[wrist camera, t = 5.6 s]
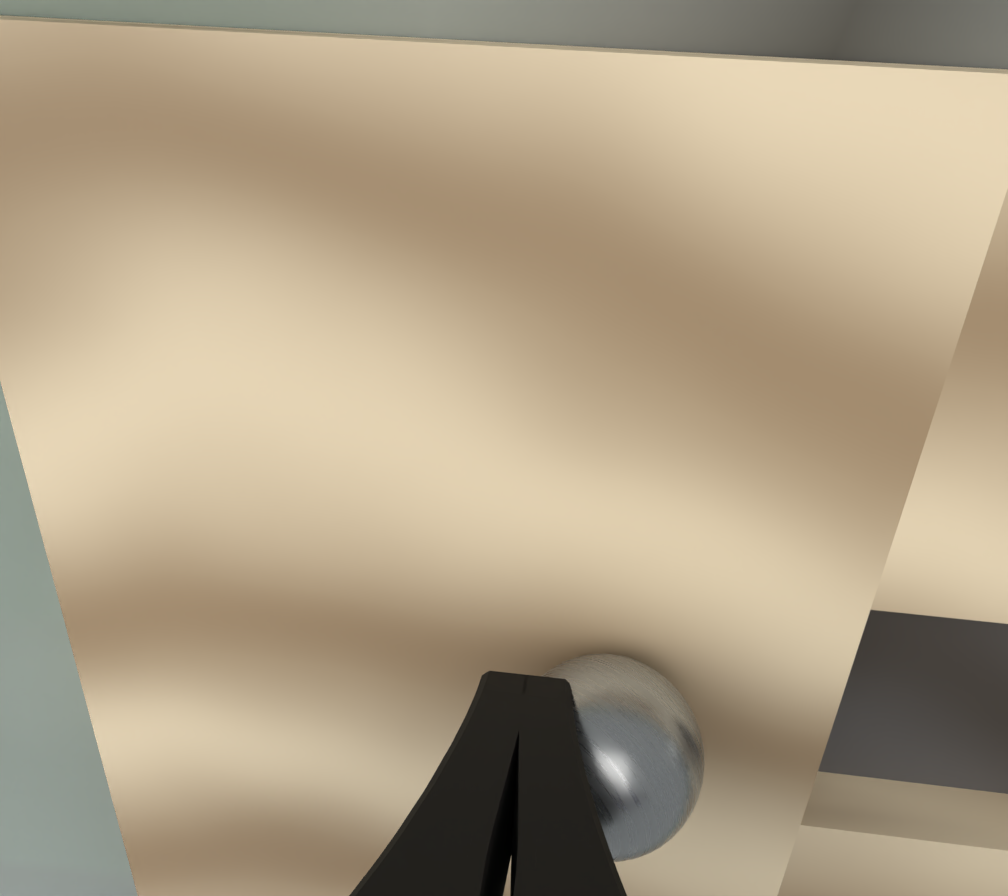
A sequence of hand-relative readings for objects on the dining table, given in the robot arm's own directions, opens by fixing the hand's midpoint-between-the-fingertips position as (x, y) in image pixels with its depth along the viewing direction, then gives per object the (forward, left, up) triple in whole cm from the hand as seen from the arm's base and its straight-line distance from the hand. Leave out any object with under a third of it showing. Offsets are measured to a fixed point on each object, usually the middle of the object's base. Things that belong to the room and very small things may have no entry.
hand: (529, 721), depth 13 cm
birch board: (-1, -4, -3) cm, 5 cm away
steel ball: (0, -1, 0) cm, 1 cm away
